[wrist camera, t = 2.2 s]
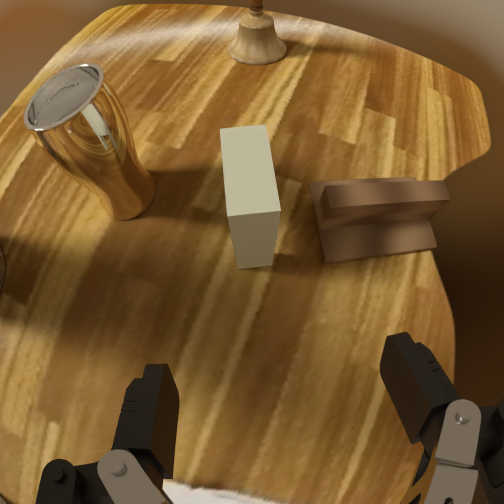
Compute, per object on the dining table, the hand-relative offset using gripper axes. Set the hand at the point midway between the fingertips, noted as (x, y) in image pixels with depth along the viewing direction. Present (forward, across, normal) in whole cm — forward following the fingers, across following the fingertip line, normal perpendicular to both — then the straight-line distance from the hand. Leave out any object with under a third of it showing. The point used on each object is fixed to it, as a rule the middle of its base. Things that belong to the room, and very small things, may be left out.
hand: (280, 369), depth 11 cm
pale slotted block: (+19, 0, +3) cm, 19 cm away
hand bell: (+39, -4, -17) cm, 43 cm away
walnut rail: (+19, -12, +3) cm, 23 cm away
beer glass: (+23, +12, -1) cm, 26 cm away
